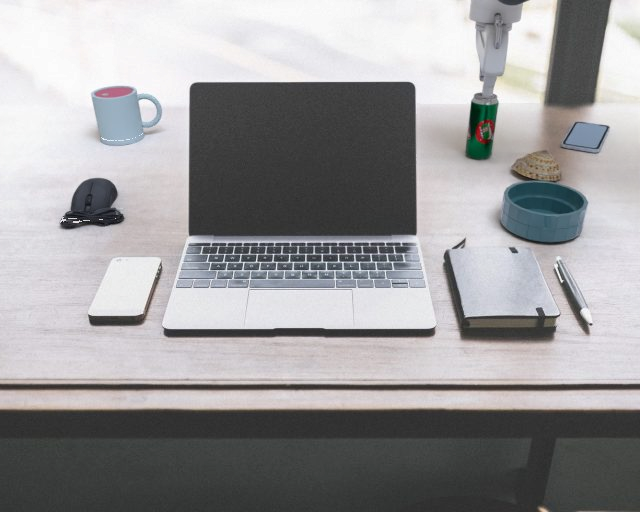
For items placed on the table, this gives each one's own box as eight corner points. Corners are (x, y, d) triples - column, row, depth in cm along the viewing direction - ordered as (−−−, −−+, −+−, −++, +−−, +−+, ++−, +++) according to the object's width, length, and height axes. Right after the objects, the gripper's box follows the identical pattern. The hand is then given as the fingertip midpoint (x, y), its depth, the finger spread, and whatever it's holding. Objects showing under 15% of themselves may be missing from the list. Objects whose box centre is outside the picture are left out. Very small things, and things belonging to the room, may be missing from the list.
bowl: (573, 210, 102) (579, 182, 99) (588, 248, 91) (595, 218, 89) (496, 206, 103) (500, 178, 101) (503, 242, 93) (508, 213, 91)
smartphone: (560, 144, 124) (574, 120, 135) (559, 148, 125) (574, 124, 136) (599, 150, 121) (611, 125, 132) (598, 154, 122) (610, 129, 133)
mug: (99, 147, 129) (89, 100, 124) (101, 132, 137) (92, 87, 132) (166, 141, 132) (159, 94, 127) (165, 126, 140) (158, 82, 134)
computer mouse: (131, 186, 112) (127, 167, 110) (124, 224, 100) (120, 203, 98) (73, 192, 111) (68, 172, 109) (59, 230, 99) (53, 209, 97)
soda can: (469, 149, 125) (476, 90, 119) (494, 153, 123) (502, 93, 117) (461, 157, 121) (468, 97, 115) (486, 162, 119) (495, 101, 113)
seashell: (506, 154, 117) (549, 139, 114) (514, 179, 119) (556, 165, 117) (514, 171, 110) (560, 156, 107) (522, 198, 112) (567, 183, 110)
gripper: (521, 21, 99) (508, 106, 106) (508, -1, 116) (498, 73, 123) (480, 20, 99) (470, 104, 107) (474, -2, 117) (465, 72, 124)
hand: (485, 87), depth 115 cm, fingers open, 8 cm apart
